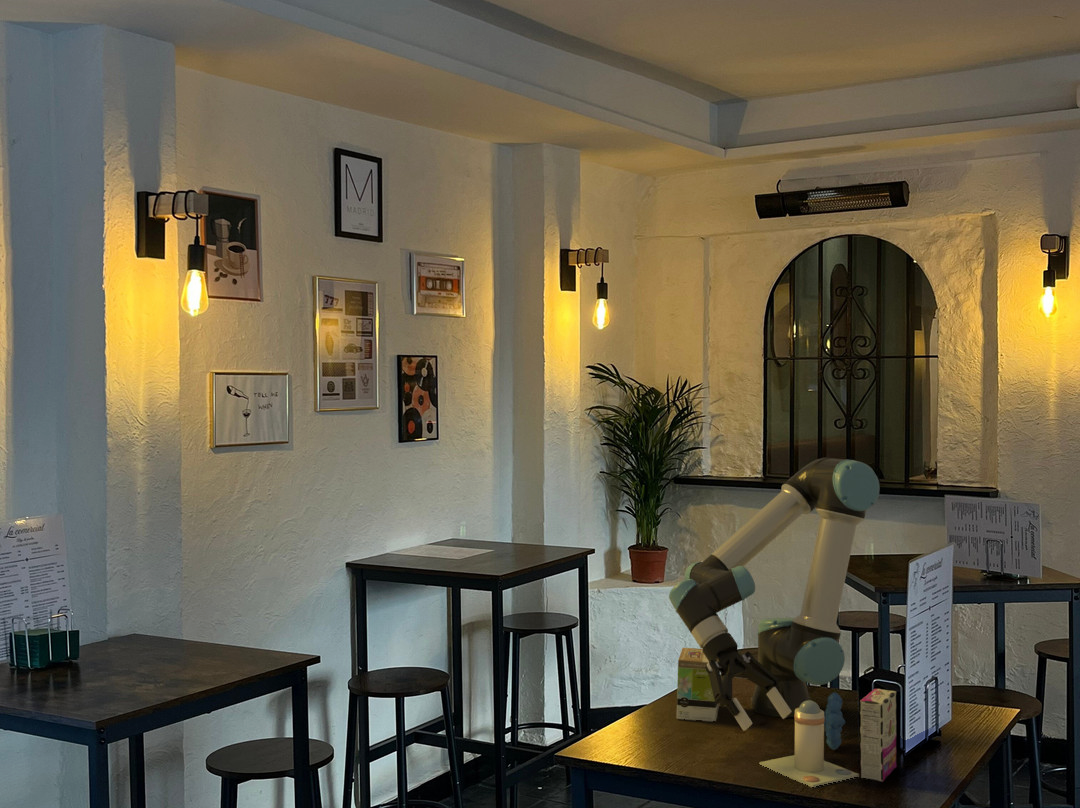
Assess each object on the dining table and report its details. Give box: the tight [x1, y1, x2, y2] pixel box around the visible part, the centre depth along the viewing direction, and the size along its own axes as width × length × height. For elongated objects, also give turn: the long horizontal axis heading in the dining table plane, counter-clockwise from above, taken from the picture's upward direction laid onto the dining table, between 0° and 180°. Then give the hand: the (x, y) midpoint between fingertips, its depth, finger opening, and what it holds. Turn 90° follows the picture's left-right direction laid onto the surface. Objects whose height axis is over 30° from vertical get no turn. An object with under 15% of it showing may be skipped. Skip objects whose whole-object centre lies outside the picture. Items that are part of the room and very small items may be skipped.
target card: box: [759, 754, 860, 788], centre depth 237 cm, size 13×16×1 cm
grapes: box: [824, 691, 846, 751], centre depth 254 cm, size 12×7×12 cm, turn 163°
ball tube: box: [793, 699, 825, 773], centre depth 237 cm, size 6×6×14 cm
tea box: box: [676, 647, 720, 722], centre depth 280 cm, size 15×10×15 cm
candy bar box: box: [859, 688, 897, 783], centre depth 236 cm, size 11×5×16 cm, turn 148°
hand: (768, 721), depth 245 cm, fingers open, 13 cm apart
